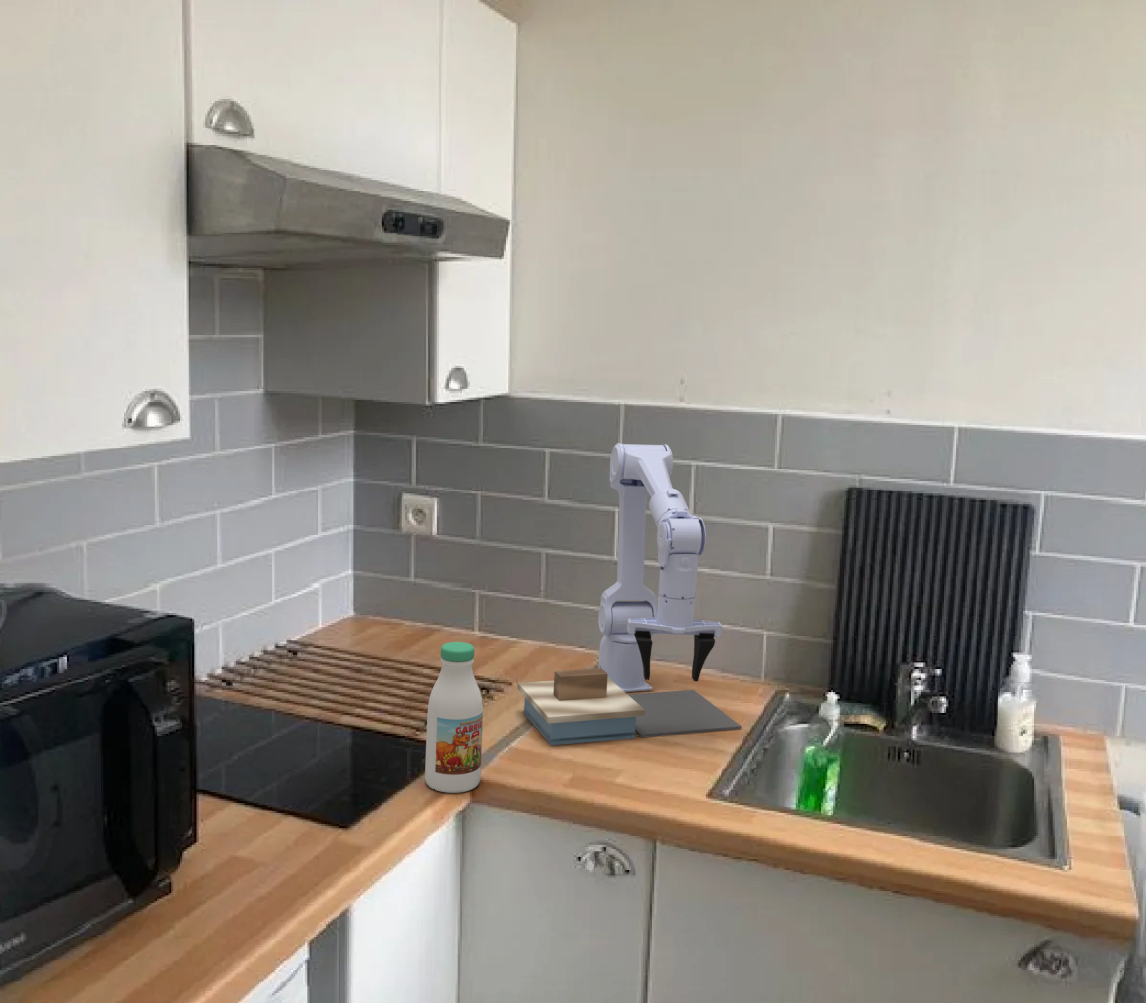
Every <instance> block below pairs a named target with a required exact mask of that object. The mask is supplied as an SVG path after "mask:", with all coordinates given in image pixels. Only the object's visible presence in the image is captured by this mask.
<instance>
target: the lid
mask: <svg viewBox="0 0 1146 1003" xmlns="http://www.w3.org/2000/svg"><path fill="white" fill-rule="evenodd" d="M517 690H518V691H519V692H520V694H522V696H524V697H523V698H524V699H525V698H526V699H527V700H528V701H529V702H530V703H531V705H532V706H533V707H534V708H535V709H536V710H537V711H538V713H539V714H540V715H541V716H542V717H543V718H544V719H545V720H546V722H547V723H548V724H549V723H561V722H574V721H587V720H599V719H612V718H625V717H638V716H645V709H644V708H642V707H641V706H640V705H639V704H638V703H637V702H636V701H634V700H633V699H632V698H631V697H630V696H629V695H628V693H627V692H624V691H623V690H622V689H621V688H620V687H618V686H617V685H616V684H615V683H614V682H613V681H612V680H610V679H609V678H608V674H607V673H606V672H605V671H604V670H603V669H602V668H598V667H596V668H595V667H593V668H579V669H575V668H574V669H565V670H564V669H562V670H554V676H553V680H544V681H543V680H541V681H527V682H517Z"/></svg>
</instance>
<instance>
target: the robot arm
mask: <svg viewBox="0 0 1146 1003" xmlns="http://www.w3.org/2000/svg"><path fill="white" fill-rule="evenodd" d="M609 460H610V461H609V482H610V486H609V487H610V488H611V489H613V490H616V491H617V492H618V500H619V503H618V506H619V509H618V538H617V540H618V541H617V567H616V568H617V569H616V570H617V571H616V582H615V583H614V584H612V585H611V586H609V587H608V588H607V589H605V590H604V591H603V592H602V593H601V596H600V603H599V604H600V605H599V608H598V612H597V613H598V614H597V615H598V616H597V617H598V618H597V620H598V627H599V631H600V633H601V635H603V636H602V638H601V640H600V641H599V653H598V667H597V668H602V669H603V670H604V671H605V672H606V673H607V674H608V678H609V679H610V680H612V681H613V682H614V683H615V684H616V685H617V686H618V687H620V688H621V689H622V690H623V691H624V692H625V693H631V692H642V691H643V692H645V691H647V692H648V691H652V690H653V687H652V686H651V685H650V684H649V683H648V682H646V681H649V680H650V677H651V656H652V649H653V648H652V647H653V641H652V636H654V635H655V634H657V635H658V634H659V635H685V636H693V637H694V638H693V640H694V641H693V642H694V643H693V659H692V660H693V661H692V667H691V678H692V681H693V682H699V680H700V675H701V672H702V670H703V666H704V664H705V663H706V660H707V657H708V656H709V654H710V653H711V651H712V650H713V649H714V647H715V645H716V644H715V643H716V639H715V638H721V637H722V633H723V632H722V630H723V625H722V624H721V621H711V620H703V619H702V620H701V619H694V617H695V607H696V605H695V604H696V593H697V592H696V590H697V581H698V580H697V578H698V565H699V556H701V555H703V554H704V552H705V548H706V544H707V541H706V540H707V533H706V532H707V531H706V525H705V523H704V520H703V519H702V518H701V517H697V515H693V514H692V513H691V511H690V509H689V505H687V502H686V500H685V498H684V495H683V494H682V492H680V490H677V489H676V488H673V485H672V482H671V479H670V477H671V475H672V473H673V469H674V456H673V452H672V449H671V448H670V446H669V445H668V444H666V443H665V444H663V443H662V444H634V443H633V444H631V443H630V444H629V443H626V444H625V443H620V442H617V443H616V444H615V445H614V446H613V448H612V450H611V453H610V457H609ZM648 496H650V500H649V502H648V507H649V512H650V514H651V516H652V518H653V521H654V523H655V526H656V527H657V532H656V544H657V554H658V555H657V561H658V562H657V563H658V564H659V566H660V567H659V569H660V570H659V581H658V595H657V596H656V594H655V593H654V592H653V590H652V589H650V588H648V586H646V585H645V584H644V582H645V579H644V577H645V553H646V552H645V548H646V524H647V523H646V518H647V515H646V514H647V499H648V498H647V497H648Z"/></svg>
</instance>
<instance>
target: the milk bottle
mask: <svg viewBox="0 0 1146 1003" xmlns="http://www.w3.org/2000/svg"><path fill="white" fill-rule="evenodd" d="M474 659H475V647H474V645H472V644H471V643H468V642H463V641H451V642H450V641H449V642H446V643H443V644H442V645H441V648H440V662H441V669H440V672H439V675H438V678H437V679H436V682H435V683H434V686H433V688H432V690H431V692H430V695H429V699H428V700H429V701H428V704H427V705H428V706H427V718H426V720H427V721H426V737H425V738H426V740H425V742H426V743H425V765H424V766H425V769H424V770H425V771H424V775H425V776H424V778H425V779H424V780H425V783H426V785H427V786H428V787H429V788H431V789H432V790H434V789H435V791H437V792H442V793H447V794H448V793H449V794H452V793H453V794H459V793H464V792H468V791H471V790H474V789H475V788H476V787H477V786H478V785H479V784H480V781H481V772H482V770H481V768H482V751H483V750H482V748H483V746H482V745H483V744H482V743H483V722H484V721H483V718H484V716H483V710H484V709H483V706H484V705H483V697H482V693H481V691H480V687H479V685H478V683H477V681H476V678H475V674H474V671H473V663H474V662H475V660H474Z"/></svg>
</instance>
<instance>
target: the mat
mask: <svg viewBox="0 0 1146 1003" xmlns="http://www.w3.org/2000/svg"><path fill="white" fill-rule="evenodd" d="M627 694H628V693H627ZM628 695H629V696H630V697H631V698H632V699H633V700H634V701H636V702H637V703H638V704H639V705H640V706H641V707H642V708H644V709H645V716H638V717H636V727H635V735H637V736H638V737H639V738H640V739H641V738H652V737H665V736H677V735H687V734H699V733H709V732H710V733H712V732H722V731H723V732H726V731H735V730H742V725H741V724H740V723H738V722H737V721H736V720H734V719H733V718H732V717H730V716H729V715H728V714H727V713H725V712H724V711H723V710H721V709H720V708H718V707H717V706H716V705H714V704H713V703H712V702H710V700H708V699H707V698H705V697H704V696H703V695H702V694H700V693H699V692H698V691H696V690H695V689H684V690H671V691H659V692H658V691H655V692H643V693H641V692H640V693H632V694H631V693H630V694H628Z"/></svg>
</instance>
